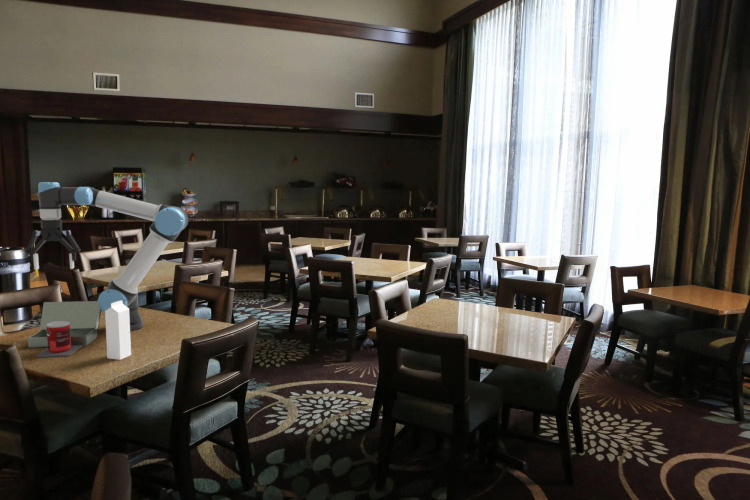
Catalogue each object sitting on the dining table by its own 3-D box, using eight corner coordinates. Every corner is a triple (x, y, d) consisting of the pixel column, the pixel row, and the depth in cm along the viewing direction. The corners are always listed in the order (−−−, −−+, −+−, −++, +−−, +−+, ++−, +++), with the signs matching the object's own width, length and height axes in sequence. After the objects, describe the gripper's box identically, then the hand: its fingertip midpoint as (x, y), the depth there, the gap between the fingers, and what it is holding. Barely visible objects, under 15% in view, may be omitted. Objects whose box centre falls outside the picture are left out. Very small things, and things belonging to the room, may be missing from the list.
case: (104, 333, 226) (102, 300, 224) (89, 345, 209) (87, 310, 207) (46, 335, 222) (44, 301, 220) (26, 347, 205) (24, 311, 203)
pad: (81, 346, 208) (81, 345, 208) (69, 356, 196) (69, 354, 196) (50, 347, 206) (50, 346, 206) (35, 357, 194) (35, 355, 194)
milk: (107, 358, 194) (103, 302, 192) (118, 353, 200) (115, 299, 197) (120, 360, 193) (117, 303, 190) (131, 354, 199) (128, 300, 196)
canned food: (54, 347, 204) (52, 320, 203) (74, 347, 205) (73, 320, 204) (43, 353, 197) (41, 326, 195) (65, 353, 197) (63, 326, 196)
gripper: (86, 218, 218) (89, 266, 220) (21, 218, 212) (25, 268, 215) (80, 219, 210) (83, 269, 213) (13, 219, 205) (17, 271, 207)
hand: (54, 268), depth 214 cm, fingers open, 13 cm apart
